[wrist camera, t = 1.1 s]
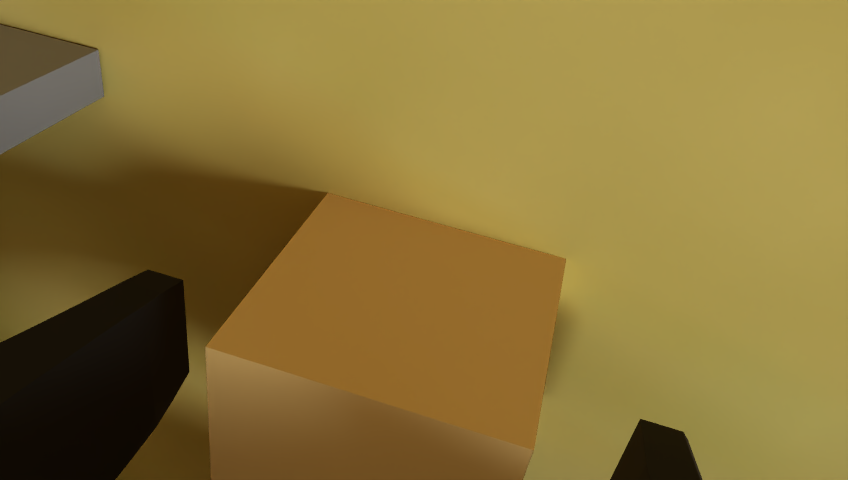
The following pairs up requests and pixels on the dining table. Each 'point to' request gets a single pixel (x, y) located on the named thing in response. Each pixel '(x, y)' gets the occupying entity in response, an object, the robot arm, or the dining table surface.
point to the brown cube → (384, 354)
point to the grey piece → (42, 83)
